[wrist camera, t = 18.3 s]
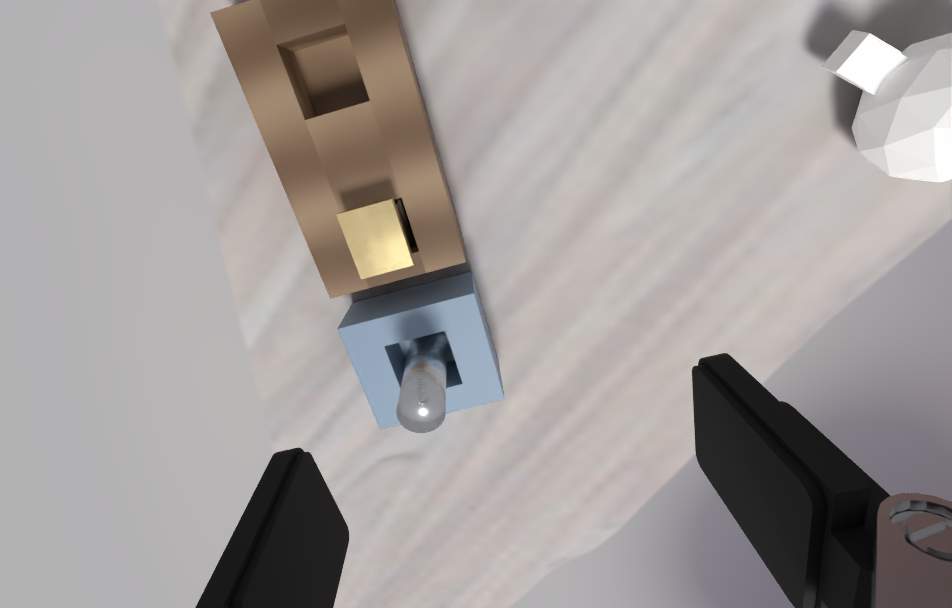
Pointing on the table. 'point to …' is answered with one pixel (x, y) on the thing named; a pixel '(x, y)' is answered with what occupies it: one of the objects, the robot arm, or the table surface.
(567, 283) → the table surface
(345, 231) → the key
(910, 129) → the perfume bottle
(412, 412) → the steel peg
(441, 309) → the blue square hole block
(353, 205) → the socket block
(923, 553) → the robot arm
